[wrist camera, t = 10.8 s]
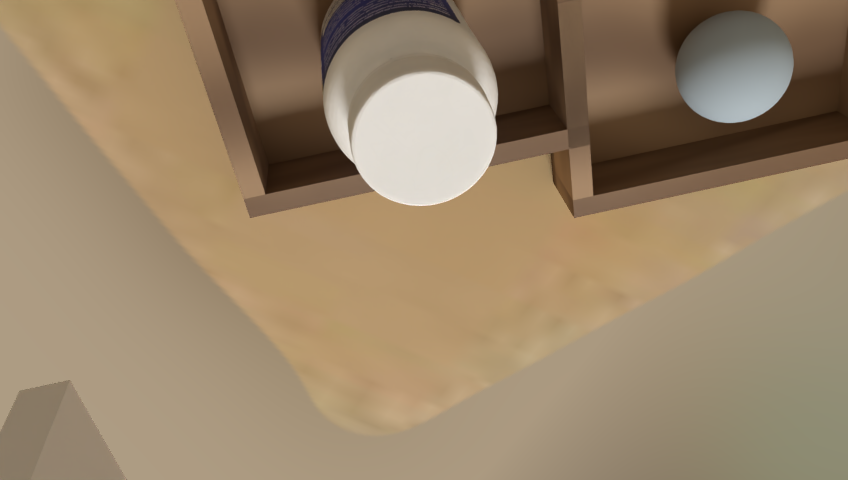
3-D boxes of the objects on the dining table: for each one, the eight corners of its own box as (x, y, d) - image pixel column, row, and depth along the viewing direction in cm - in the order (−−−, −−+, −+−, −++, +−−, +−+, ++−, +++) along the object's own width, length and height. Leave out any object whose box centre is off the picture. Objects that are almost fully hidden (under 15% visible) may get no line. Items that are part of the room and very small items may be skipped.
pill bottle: (289, 46, 27) (281, 148, 20) (389, -67, 26) (421, -3, 18) (396, 136, 30) (425, 259, 22) (493, 38, 28) (560, 133, 21)
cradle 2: (533, -40, 27) (555, -21, 25) (877, -113, 28) (935, -101, 25) (553, 183, 32) (574, 217, 30) (846, 119, 32) (891, 148, 30)
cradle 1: (176, -58, 26) (161, -39, 23) (547, -136, 26) (573, -126, 23) (255, 181, 30) (250, 217, 28) (566, 114, 31) (590, 144, 28)
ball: (658, 10, 28) (705, 42, 25) (761, -12, 28) (823, 16, 25) (658, 109, 31) (702, 151, 27) (755, 88, 31) (811, 127, 27)
